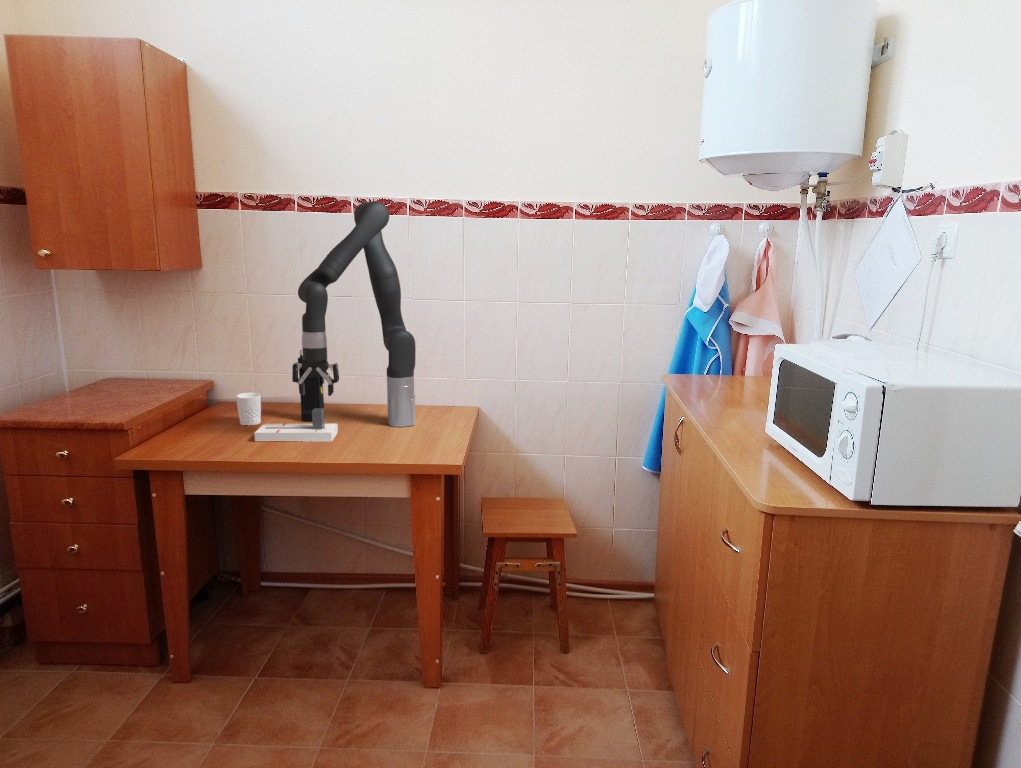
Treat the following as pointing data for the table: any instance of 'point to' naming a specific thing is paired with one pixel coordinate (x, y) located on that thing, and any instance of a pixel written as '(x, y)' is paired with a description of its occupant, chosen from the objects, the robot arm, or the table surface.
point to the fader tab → (318, 418)
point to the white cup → (249, 408)
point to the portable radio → (311, 394)
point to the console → (296, 432)
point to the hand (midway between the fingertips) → (316, 395)
